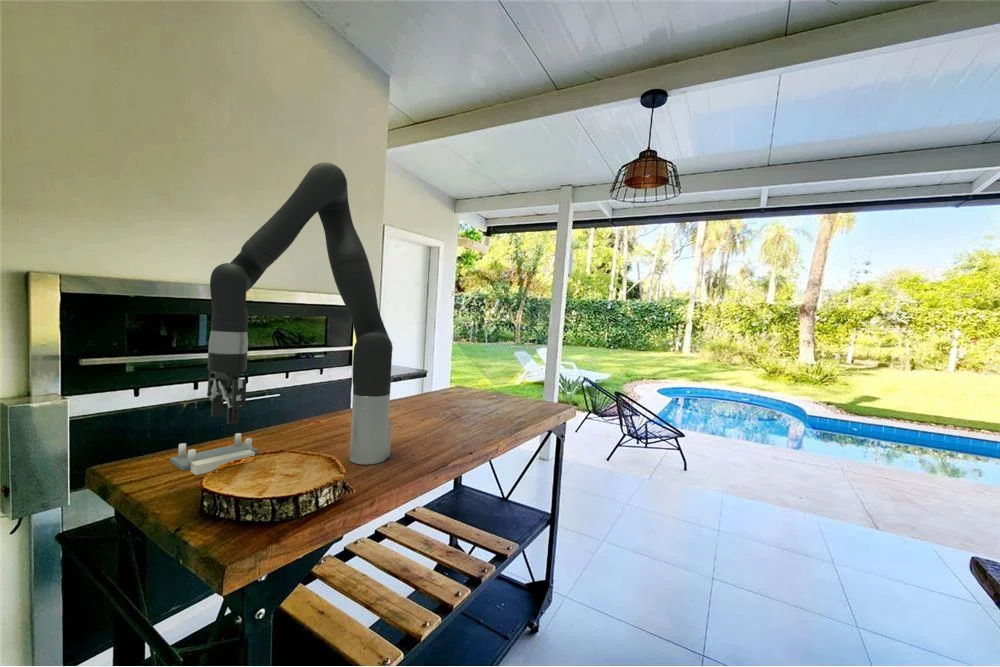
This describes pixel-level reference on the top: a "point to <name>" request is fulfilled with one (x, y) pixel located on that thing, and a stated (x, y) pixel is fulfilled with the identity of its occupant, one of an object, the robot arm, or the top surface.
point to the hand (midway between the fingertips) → (224, 419)
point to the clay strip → (217, 461)
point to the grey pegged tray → (209, 452)
